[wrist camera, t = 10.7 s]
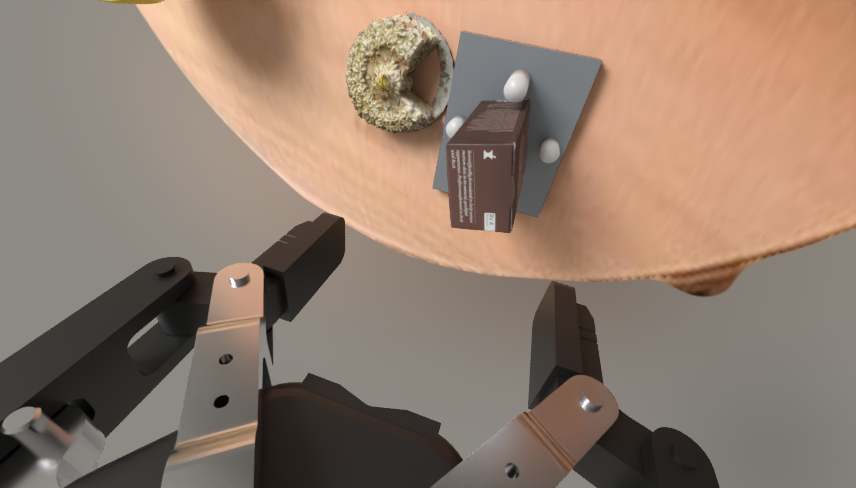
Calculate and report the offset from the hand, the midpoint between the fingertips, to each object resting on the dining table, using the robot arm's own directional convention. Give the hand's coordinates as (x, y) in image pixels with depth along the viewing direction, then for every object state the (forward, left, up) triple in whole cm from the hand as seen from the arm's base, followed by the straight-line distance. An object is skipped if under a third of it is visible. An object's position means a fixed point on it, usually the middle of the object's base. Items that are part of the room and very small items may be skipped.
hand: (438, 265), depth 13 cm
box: (0, +1, -21) cm, 22 cm away
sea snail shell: (+10, -2, -23) cm, 25 cm away
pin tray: (-1, +1, -22) cm, 22 cm away
